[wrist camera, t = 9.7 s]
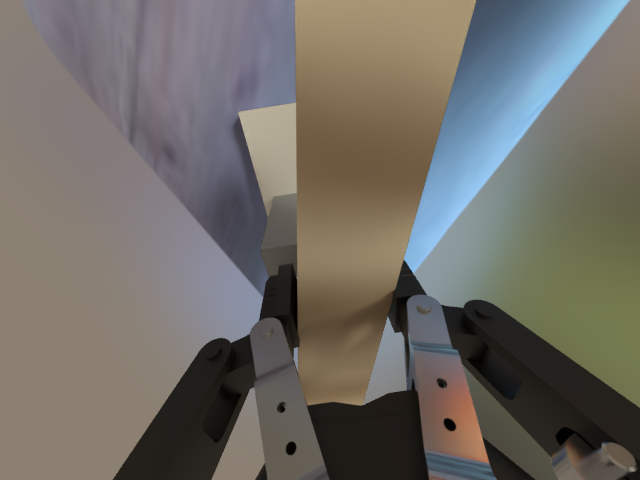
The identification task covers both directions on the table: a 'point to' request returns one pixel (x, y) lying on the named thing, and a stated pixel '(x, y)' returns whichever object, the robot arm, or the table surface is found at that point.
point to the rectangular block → (362, 169)
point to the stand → (275, 179)
